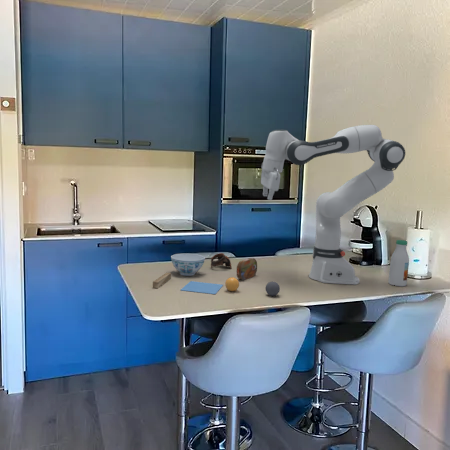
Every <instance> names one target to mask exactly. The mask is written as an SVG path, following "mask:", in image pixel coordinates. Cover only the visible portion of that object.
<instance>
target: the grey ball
mask: <svg viewBox="0 0 450 450" xmlns="http://www.w3.org/2000/svg"><path fill="white" fill-rule="evenodd" d="M280 290H281V288H280V285H279V284H278V283H277V282H276V281H270V282H268V283H267V284H265V292H266V293H267V295H269V296H272V297H276V295H279V293H280Z"/></svg>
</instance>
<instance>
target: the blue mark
mask: <svg viewBox="0 0 450 450" xmlns="http://www.w3.org/2000/svg"><path fill="white" fill-rule="evenodd" d="M223 286H224V284H219V283H211V282H201V281H192V280H190V281H189V282H188V283H187V284H185V285H184V286H183V287H181V288H180V291H181V292H182V291H183V292H192V293H198V294H199V293H200V294H209V295H216V294H217V293H218V292H219V291H220V289H222V287H223Z"/></svg>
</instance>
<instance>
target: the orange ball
mask: <svg viewBox="0 0 450 450" xmlns="http://www.w3.org/2000/svg"><path fill="white" fill-rule="evenodd" d="M224 283H225V284H224V286H225V288H226V289H227V291H230V292H235V291H237V290H238V289H239V286H240V281H239V280H238V279H237V278H236V277H234V276H232V277H228V278H227V279H226V280H225V282H224Z"/></svg>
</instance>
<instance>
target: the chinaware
mask: <svg viewBox="0 0 450 450" xmlns="http://www.w3.org/2000/svg"><path fill="white" fill-rule="evenodd" d="M170 258H171V263H172V265H173V268H175V270H176V271H178V272H179V274H180V276H186V277H189V276H190V277H191V276H195V274H196V272H198V271H199V270H200V269H202V267H203V265H204V263H205V259H206V257H205V256H203V255H202V254H197V253H175V254H173V255H171V256H170Z"/></svg>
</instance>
